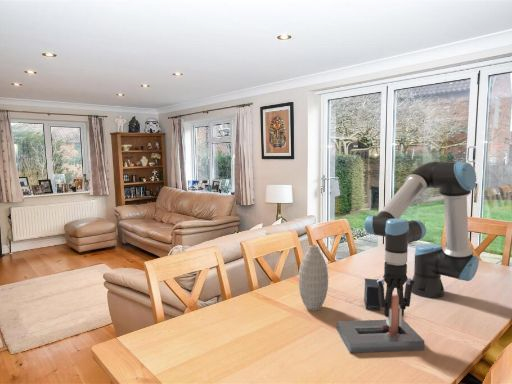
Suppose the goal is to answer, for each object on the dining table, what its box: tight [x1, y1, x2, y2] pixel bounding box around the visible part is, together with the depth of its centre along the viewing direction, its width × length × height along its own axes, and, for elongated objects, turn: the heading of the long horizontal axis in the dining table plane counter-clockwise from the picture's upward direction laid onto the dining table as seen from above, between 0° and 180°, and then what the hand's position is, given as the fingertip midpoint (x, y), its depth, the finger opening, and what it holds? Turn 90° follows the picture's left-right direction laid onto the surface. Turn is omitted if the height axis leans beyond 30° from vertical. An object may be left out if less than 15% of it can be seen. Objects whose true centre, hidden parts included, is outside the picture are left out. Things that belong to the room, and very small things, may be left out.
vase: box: [298, 244, 329, 312], centre depth 155 cm, size 13×13×28 cm
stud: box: [387, 293, 399, 335], centre depth 129 cm, size 5×5×16 cm
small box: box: [363, 278, 382, 311], centre depth 158 cm, size 11×6×10 cm, turn 168°
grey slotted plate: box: [336, 318, 425, 354], centre depth 129 cm, size 26×16×4 cm, turn 93°
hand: (393, 324), depth 129 cm, fingers closed on stud, 3 cm apart
